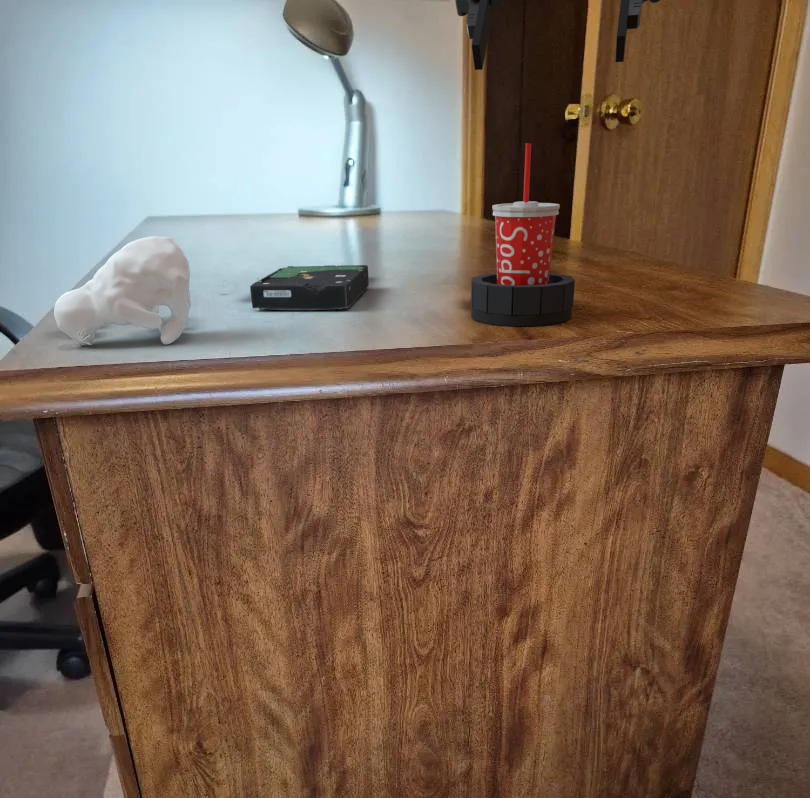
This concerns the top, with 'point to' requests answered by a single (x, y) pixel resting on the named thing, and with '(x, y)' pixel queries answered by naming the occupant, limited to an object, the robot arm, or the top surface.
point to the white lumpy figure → (131, 292)
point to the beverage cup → (524, 237)
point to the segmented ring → (522, 301)
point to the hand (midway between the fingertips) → (547, 53)
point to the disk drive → (310, 287)
